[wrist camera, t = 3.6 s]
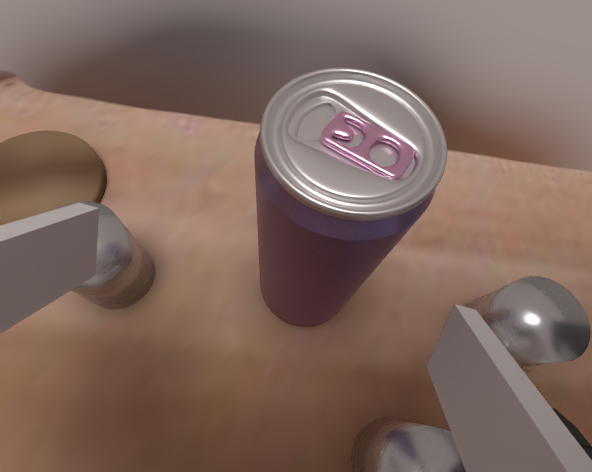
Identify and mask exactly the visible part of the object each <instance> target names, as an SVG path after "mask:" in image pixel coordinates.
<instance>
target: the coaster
mask: <svg viewBox="0 0 592 472" xmlns="http://www.w3.org/2000/svg"><path fill="white" fill-rule="evenodd" d="M106 180H107V179H106V171H105V167H104V165H103V163H102V161H101V160H100V158H99V157H98V155H97V154H96V152H95V151H94V150H93V148H92V147H91V146H90V145H89V144H88V143H86V142H85V141H84V140H82V139H80V138H78V137H77V136H74V135H71V134H68V133H64V132H58V131H37V132H31V133H26V134H22V135H19V136H16V137H13V138H10V139H8V140H6V141H4V142H2V143H0V226H1V225H4V224H8V223H11V222H15V221H18V220H21V219H25V218H28V217H32V216H35V215H39V214H42V213H45V212H49V211H52V210H55V209H57V208H59V207H61V206H64V205H66V204H70V203H74V202H82V201H89V202H95V203H100V201H101V199H102V197H103V194H104V192H105V188H106Z"/></svg>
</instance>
